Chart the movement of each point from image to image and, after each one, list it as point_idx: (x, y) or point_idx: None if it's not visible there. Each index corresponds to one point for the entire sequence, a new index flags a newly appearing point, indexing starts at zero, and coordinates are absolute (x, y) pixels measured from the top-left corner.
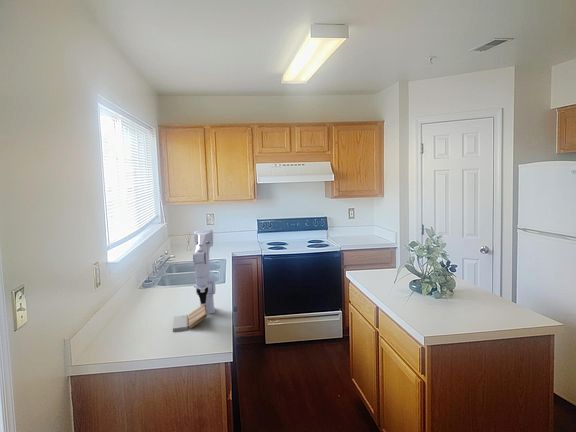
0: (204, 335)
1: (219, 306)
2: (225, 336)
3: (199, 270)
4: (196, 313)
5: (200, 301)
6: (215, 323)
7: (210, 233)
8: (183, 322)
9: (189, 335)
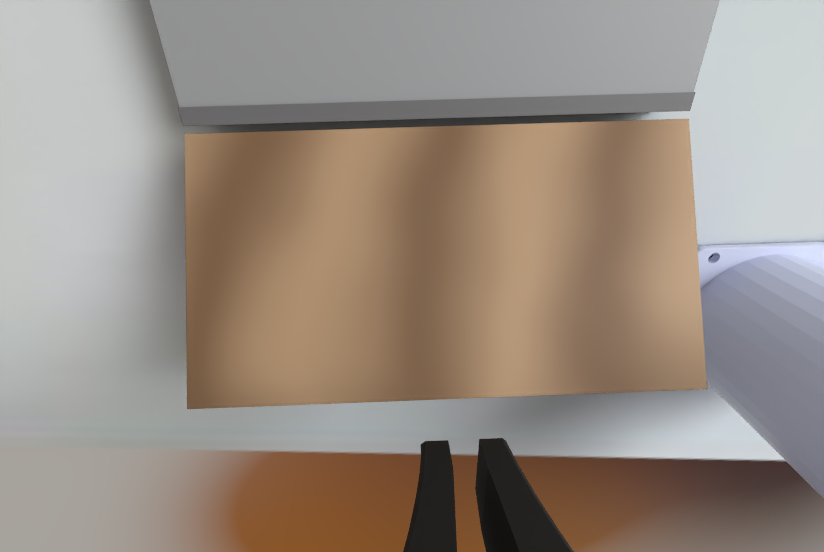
0: (42, 290)
1: None
2: (36, 428)
3: None
4: (492, 255)
5: (422, 480)
6: None
7: None
8: (370, 50)
9: (25, 143)
